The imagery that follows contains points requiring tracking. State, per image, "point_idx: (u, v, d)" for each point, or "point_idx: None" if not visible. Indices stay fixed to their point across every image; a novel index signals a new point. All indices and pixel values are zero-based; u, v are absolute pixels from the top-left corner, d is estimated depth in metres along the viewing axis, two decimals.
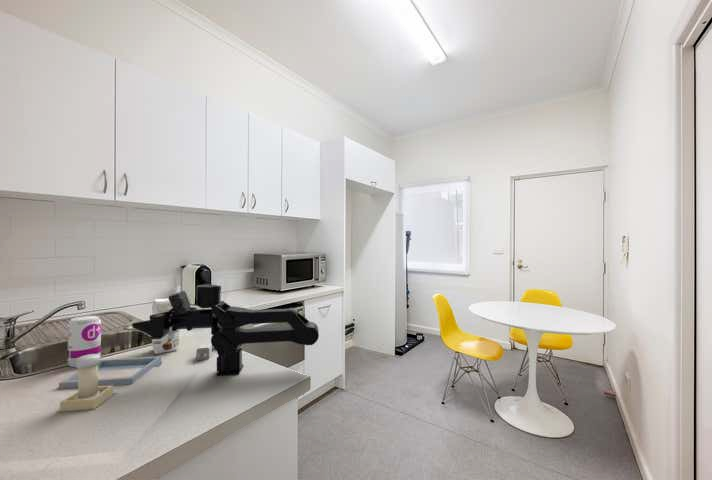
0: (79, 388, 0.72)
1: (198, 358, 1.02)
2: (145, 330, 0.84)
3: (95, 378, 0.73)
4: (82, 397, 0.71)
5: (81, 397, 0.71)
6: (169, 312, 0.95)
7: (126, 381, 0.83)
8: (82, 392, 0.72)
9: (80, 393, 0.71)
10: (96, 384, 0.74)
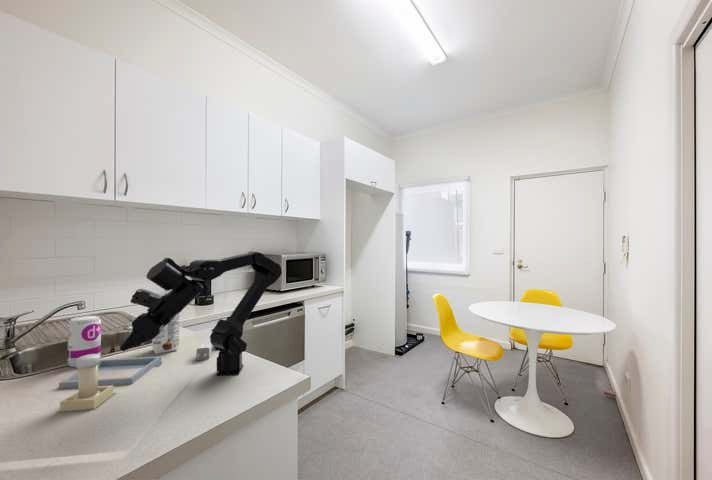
0: (79, 388, 0.72)
1: (198, 358, 1.02)
2: (138, 341, 0.73)
3: (95, 378, 0.73)
4: (82, 397, 0.71)
5: (81, 397, 0.71)
6: None
7: (126, 381, 0.83)
8: (82, 392, 0.71)
9: (80, 393, 0.71)
10: (96, 384, 0.74)
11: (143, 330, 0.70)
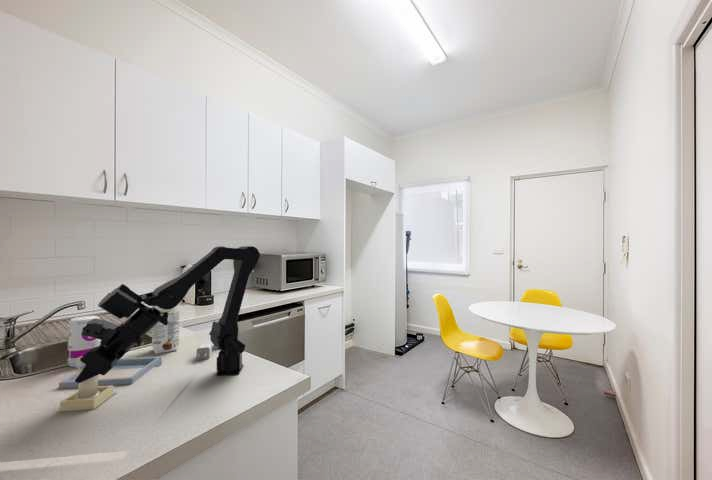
0: (79, 388, 0.72)
1: (198, 358, 1.02)
2: (94, 373, 0.71)
3: (95, 378, 0.73)
4: (82, 397, 0.71)
5: (81, 397, 0.71)
6: None
7: (126, 381, 0.83)
8: (82, 392, 0.72)
9: (80, 393, 0.71)
10: (96, 384, 0.74)
11: (93, 367, 0.66)
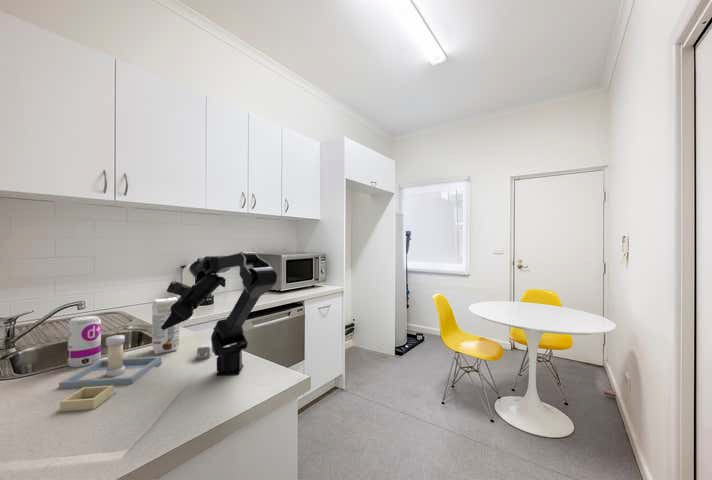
0: (108, 362, 0.88)
1: (199, 357, 1.03)
2: (175, 322, 0.92)
3: (121, 354, 0.89)
4: (111, 369, 0.88)
5: (110, 369, 0.88)
6: None
7: (126, 381, 0.83)
8: (111, 365, 0.88)
9: (109, 366, 0.88)
10: (122, 359, 0.90)
11: (180, 313, 0.89)
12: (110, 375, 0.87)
